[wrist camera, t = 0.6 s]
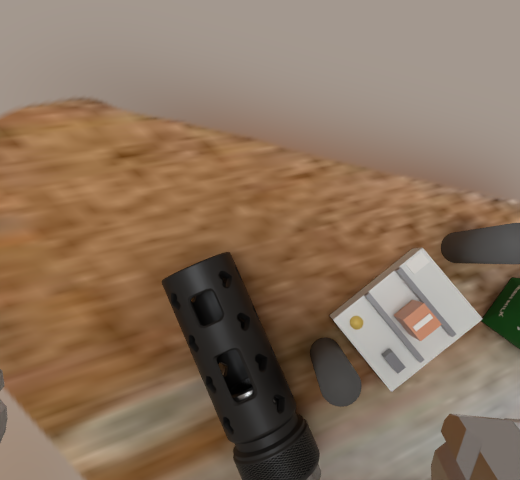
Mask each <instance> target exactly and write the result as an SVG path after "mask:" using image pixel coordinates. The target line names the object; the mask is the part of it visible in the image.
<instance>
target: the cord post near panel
mask: <svg viewBox="0 0 520 480" xmlns="http://www.w3.org/2000/svg"><path fill="white" fill-rule="evenodd" d="M310 356H311V359H312V363H313V366H314V370H315V373H316V376H317V380H318V383H319V387H320V390H321V393H322V395H323V397H324V398H325V399H326V400H327V401H328V402H329V403H330V404H332V405H335V406H347V405H350V404H352V403H353V402H355V401H356V399H357V398H358V397H359V395H360V392H361V380H360V377H359V376H358V374H357V372H356V371H355V369H354V368H353V366H352V365H351V363H350V362H349V360H348V359H347V357H346V356H345V354H344V353H343V351H342V350H341V348H340V347H339V345H338V344H337V343H336V342H335V341H334V340H332V339H330V338H321V339H318V340H317V341H315V342H314V343H313V345H312V347H311V350H310Z"/></svg>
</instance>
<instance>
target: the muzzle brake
mask: <svg viewBox="0 0 520 480" xmlns="http://www.w3.org/2000/svg"><path fill="white" fill-rule="evenodd" d="M162 285H163V287H164V289H165V292H166V294H167V296H168V299H169V301H170V303H171V306H172V308H173V311H174V313H175V315H176V318H177V320H178V322H179V325H180V327H181V329H182V332H183V334H184V337H185V339H186V341H187V344H188V346H189V348H190V351H191V353H192V355H193V358H194V360H195V363H196V365H197V367H198V370H199V372H200V374H201V377H202V379H203V381H204V384H205V386H206V389H207V391H208V393H209V396H210V398H211V400H212V403H213V405H214V407H215V410H216V412H217V415H218V417H219V419H220V422H221V424H222V426H223V429H224V431H225V433H226V436H227V438H228V440H230V441H231V442H233V443H234V444H235V447H234V449H233V453H234V457H233V458H234V461H235V464H236V466H237V468H238V471H239V473H240V475H241V478H242V480H320V477H321V469H320V467H319V465H318V462H319V449H318V447H317V444H316V442H315V440H314V437H313V435H312V433H311V431H310V428H309V426H308V424H307V421H306V420H305V419H303V418H302V416H300V415H298V414H296V413H295V410H296V402H295V400H294V397H293V395H292V393H291V391H290V389H289V386H288V384H287V381H286V379H285V377H284V375H283V372H282V370H281V368H280V365H279V363H278V361H277V359H276V356H275V354H274V352H273V350H272V347H271V345H270V343H269V340H268V338H267V336H266V333H265V331H264V329H263V327H262V324H261V322H260V320H259V317H258V315H257V313H256V311H255V308H254V306H253V304H252V301H251V299H250V297H249V295H248V292H247V290H246V288H245V285H244V283H243V281H242V279H241V276H240V274H239V272H238V269H237V267H236V265H235V263H234V260H233V258H232V256H231V253H230V252H226V253H222V254H219V255H216V256H213V257H211V258H208V259H206V260H203V261H201V262H198V263H196V264H194V265H191V266H189V267H187V268H185V269H183V270H180V271H178V272H176V273H174V274H172V275H170V276H168V277H167V278H165V279H163V280H162ZM193 297H194V300H193V302H191V299H192V298H193ZM219 363H221V364H223V365H225V366H226V369H225V373H224V375H222V373H221V370H220V368H219V365H218V364H219Z"/></svg>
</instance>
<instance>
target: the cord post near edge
mask: <svg viewBox="0 0 520 480" xmlns="http://www.w3.org/2000/svg"><path fill="white" fill-rule="evenodd" d="M441 251H442V254H443V256H444V257H445V258H446V259H447V260H448V261H450V262H453V263H480V264H520V223H512V224H506V225H499V226H493V227H487V228H480V229H474V230H468V231H461V232H455V233H451V234H449V235H447V236H446V237H445V238H444V239H443V241H442V244H441Z"/></svg>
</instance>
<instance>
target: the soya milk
mask: <svg viewBox="0 0 520 480" xmlns="http://www.w3.org/2000/svg"><path fill="white" fill-rule="evenodd" d="M481 321H482V322H483V323H485V324H486V325H487V326H489V327H490V328H492V329H493V330H494V331H496V332H497V333H498V334H500V335H501V336H502V337H504V338H505V339H507V340H508V341H509V342H511V343H512V344H513V345H515V346H516V347H518V348H519V349H520V278H513V277H512V278H511V279H510V281H509V282H508V284H507V285H506V286H505V288H504V289H503V291H502V292H501V293H500V295H499V296H498V298H497V299H496V300H495V302H494V303H493V305H492V306H491V307H490V309H489V310H488V312H487V313H486V314H485V316H484V317H483V319H482V320H481Z"/></svg>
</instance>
